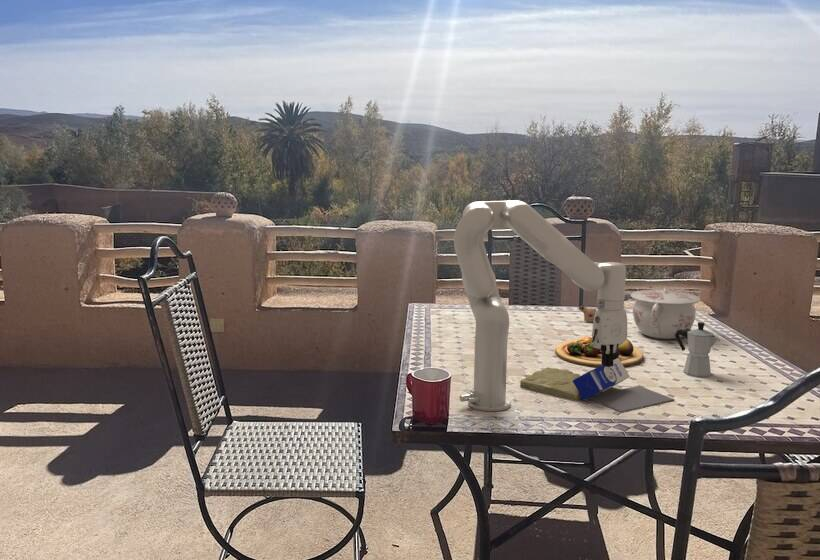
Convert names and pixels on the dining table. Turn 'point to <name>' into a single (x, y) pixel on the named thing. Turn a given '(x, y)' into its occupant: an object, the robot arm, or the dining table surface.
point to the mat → (630, 398)
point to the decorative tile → (553, 383)
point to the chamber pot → (663, 312)
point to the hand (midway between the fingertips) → (607, 365)
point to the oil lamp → (588, 313)
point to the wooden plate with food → (596, 353)
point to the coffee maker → (697, 350)
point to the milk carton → (600, 379)
